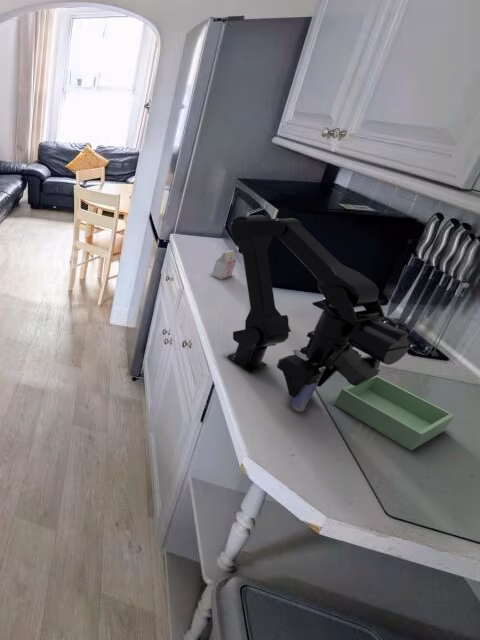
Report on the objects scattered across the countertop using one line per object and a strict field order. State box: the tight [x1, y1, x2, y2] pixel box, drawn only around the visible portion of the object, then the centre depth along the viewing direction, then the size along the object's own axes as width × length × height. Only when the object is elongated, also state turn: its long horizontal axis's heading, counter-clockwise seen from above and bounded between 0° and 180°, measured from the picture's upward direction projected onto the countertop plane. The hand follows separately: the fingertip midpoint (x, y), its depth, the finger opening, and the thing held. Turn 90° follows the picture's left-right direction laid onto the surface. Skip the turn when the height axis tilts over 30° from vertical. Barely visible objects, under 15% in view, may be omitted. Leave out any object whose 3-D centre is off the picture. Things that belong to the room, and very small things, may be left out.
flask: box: [289, 367, 326, 414], centre depth 88 cm, size 9×3×11 cm, turn 129°
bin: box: [333, 375, 456, 451], centre depth 85 cm, size 13×13×4 cm
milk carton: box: [211, 249, 237, 280], centre depth 147 cm, size 4×7×10 cm, turn 120°
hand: (304, 390), depth 89 cm, fingers open, 9 cm apart
